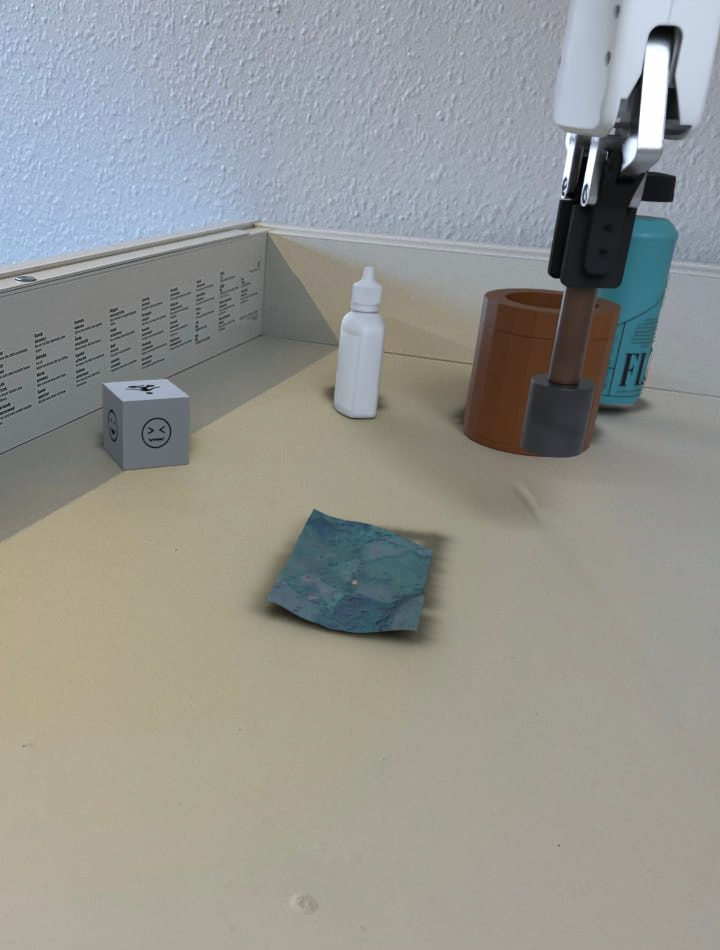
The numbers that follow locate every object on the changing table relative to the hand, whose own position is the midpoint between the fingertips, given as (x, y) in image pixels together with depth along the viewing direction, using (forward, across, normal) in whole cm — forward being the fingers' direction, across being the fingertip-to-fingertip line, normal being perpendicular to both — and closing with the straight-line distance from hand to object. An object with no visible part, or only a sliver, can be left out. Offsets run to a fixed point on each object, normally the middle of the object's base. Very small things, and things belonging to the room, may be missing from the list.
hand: (583, 279), depth 54 cm
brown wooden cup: (+16, +24, -5) cm, 29 cm away
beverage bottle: (+17, +33, -14) cm, 39 cm away
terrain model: (+16, -7, +12) cm, 21 cm away
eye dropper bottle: (+16, +29, +9) cm, 34 cm away
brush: (+10, 0, 0) cm, 10 cm away
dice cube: (+16, +14, +26) cm, 33 cm away
